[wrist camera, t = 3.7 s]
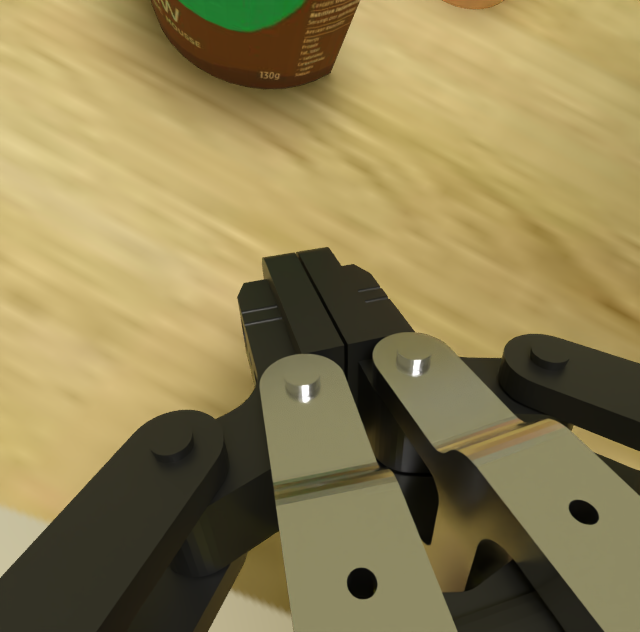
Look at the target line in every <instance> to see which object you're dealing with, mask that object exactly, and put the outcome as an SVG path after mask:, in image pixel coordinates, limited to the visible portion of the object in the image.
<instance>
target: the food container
mask: <svg viewBox="0 0 640 632" xmlns="http://www.w3.org/2000/svg"><path fill="white" fill-rule="evenodd" d="M151 2H152V6H153V8H154V11H155V13H156V16H157V18H158V21H159V23H160V25H161V28H162V30H163V32H164V33H165V35H166V36H167V37H168V39H169V40H170V42H171V43H172V44H173V46H174V47H175V48H176V49H177V50H178V51H179V52H180V53H181V54H182V55H183V56H184V57H185V58H187V59H188V60H189V61H190V62H192V63H193V64H194V65H196V66H197V67H198V68H200V69H202V70H204V71H205V72H207V73H209V74H211V75H212V76H215V77H217V78H220V79H222V80H225V81H227V82H230V83H233V84H237V85H241V86H245V87H252V88H261V89H283V88H289V87H295V86H300V85H303V84H306V83H309V82H312V81H315V80H317V79H319V78H321V77H323V76H325V75H327V74H329V73H331V70H332V68H333V65H334V63H335V60H336V58H337V56H338V53H339V51H340V48H341V46H342V43H343V41H344V38H345V36H346V34H347V31H348V29H349V26H350V24H351V21H352V19H353V16H354V14H355V12H356V9H357V7H358V4H359V2H360V0H151Z"/></svg>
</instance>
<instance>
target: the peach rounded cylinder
mask: <svg viewBox="0 0 640 632" xmlns="http://www.w3.org/2000/svg"><path fill="white" fill-rule="evenodd" d="M442 1H445V2H447V3H449V4H451V5H454V6H457V7H461V8H467V9H484V8H489V7H492V6H495V5H497V4H499V3H500V2H502V1H504V0H442Z"/></svg>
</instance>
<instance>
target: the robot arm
mask: <svg viewBox="0 0 640 632" xmlns="http://www.w3.org/2000/svg"><path fill="white" fill-rule="evenodd" d="M262 267H263V276H264V280H259V281H253V282H247V283H244V284H243V286H242V288H241V290H240V292H239V295H238V297H237V298H238V304H239V310H240V316H241V322H242V329H243V335H244V341H245V347H246V353H247V357H248V361H249V365H250V369H251V373H252V377H253V381H254V385H255V389H254V391H253V393H252V394H251V395H250V397H249V398H248V399H247V400H246V401H245V402H244V403H243V404H242V405H240V406H239V407H238V408H236V409H234V410H233V411H231V412H229V413H227V414H225V415H223V416H221V417H219V418H217V419H214V418H213V417H211V416H210V415H208V414H206V413H203V412H200V411H195V410H178V411H173V412H169V413H165V414H162V415H160V416H158V417H155V418H153V419H152V420H150V421H148V422H147V423H145V424H144V425H143V426H141V427H140V428H139V429H138V430H137V431H136V432H135V433H134V434H133V435H132V436H131V437H130V438H129V439H128V440H127V441H126V442H125V443H124V445H123V446H122V447H121V448H120V449H119V450H118V451H117V452H116V453H115V454H114V455H113V456H112V458H111V459H110V460H109V461H108V462H107V463H106V464H105V465H104V466H103V467H102V468H101V469H100V471H99V472H98V473H97V474H96V475H95V476H94V477H93V478H92V479H91V480H90V481H89V482H88V484H87V485H86V486H85V487H84V488H83V489H82V490H81V491H80V492H79V493H78V494H77V495H76V497H75V498H74V499H73V500H72V501H71V502H70V503H69V504H68V505H67V506H66V507H65V508H64V510H63V511H62V512H61V513H60V514H59V515H58V516H57V517H56V518H55V519H54V520H53V521H52V523H51V524H50V525H49V526H48V527H47V528H46V529H45V530H44V531H43V532H42V533H41V534H40V536H39V537H38V538H37V539H36V540H35V541H34V542H33V543H32V544H31V545H30V546H29V547H28V549H27V550H26V551H25V552H24V553H23V554H22V555H21V556H20V557H19V558H18V559H17V560H16V561H15V563H14V564H13V565H12V566H11V567H10V568H9V569H8V570H7V571H6V572H5V573H4V574H3V576H2V577H1V578H0V632H208V630H209V628H210V626H211V625H212V623H213V620H214V619H215V617H216V615H217V613H218V611H219V609H220V608H221V606H222V604H223V602H224V600H225V598H226V596H227V594H228V592H229V591H230V589H231V587H232V585H233V583H234V581H235V579H236V577H237V576H238V574H239V572H240V570H241V568H242V566H243V564H244V562H245V559H246V556H247V552H248V551H249V550H251V549H252V548H254V547H255V546H257V545H258V544H260V543H261V542H263V541H264V540H266V539H267V538H269V537H270V536H272V535H273V534H275V533H276V532H278V531H280V538H281V545H282V552H283V559H284V566H285V573H286V581H287V588H288V595H289V602H290V609H291V616H292V623H293V630H294V632H640V471H639V470H635V469H633V468H630V467H628V466H626V465H623V464H621V463H618V462H616V461H614V460H611V459H609V458H606V457H604V456H602V455H599V454H597V453H594V452H593V451H592V450H591V449H589V448H588V447H587V446H586V445H585V444H584V443H583V442H582V441H581V440H580V439H579V438H578V437H577V436H576V435H575V434H574V433H573V432H571V430H572V428H573V426H574V425H575V426H578V427H580V428H583V429H585V430H588V431H590V432H593V433H595V434H598V435H600V436H603V437H605V438H608V439H610V440H613V441H615V442H618V443H620V444H623V445H625V446H628V447H630V448H633V449H635V450H638V451H640V364H639V363H636V362H633V361H630V360H626V359H623V358H620V357H617V356H614V355H611V354H608V353H604V352H601V351H598V350H595V349H592V348H589V347H586V346H582V345H579V344H576V343H573V342H570V341H567V340H564V339H561V338H557V337H553V336H549V335H543V334H527V335H521V336H518V337H515V338H513V339H512V340H510V341H509V342H508V343H507V344H506V346H505V348H504V352H503V356H502V358H466V357H458V356H457V355H456V354H455V353H454V351H453V350H452V349H451V348H450V347H449V346H447V345H446V344H445V343H444V342H442V341H441V340H439V339H437V338H435V337H433V336H430V335H427V334H422V333H416V332H415V331H414V330H413V329H412V328H411V326H410V325H409V324H408V322H407V321H406V320H405V318H404V317H403V316H402V314H401V313H400V312H399V310H398V309H397V308H396V306H395V305H394V304H393V303H392V301H391V300H390V299H388V296H387V295H386V293H385V292H384V291H383V289H382V288H380V285H379V284H378V283H377V281H376V280H375V279H374V278H373V276H372V275H371V274H370V273H369V272H367V271H365V270H363V269H361V268H360V267H358V266H356V265H354V264H351V265H346V266H341V265H340V263H339V262H338V260H337V259H336V257H335V256H334V254H333V253H332V251H331V250H330V249H329V248H328V247H325V248H318V249H312V250H306V251H300V252H296V254H295V253H288V254H282V255H276V256H270V257H263V258H262Z"/></svg>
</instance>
